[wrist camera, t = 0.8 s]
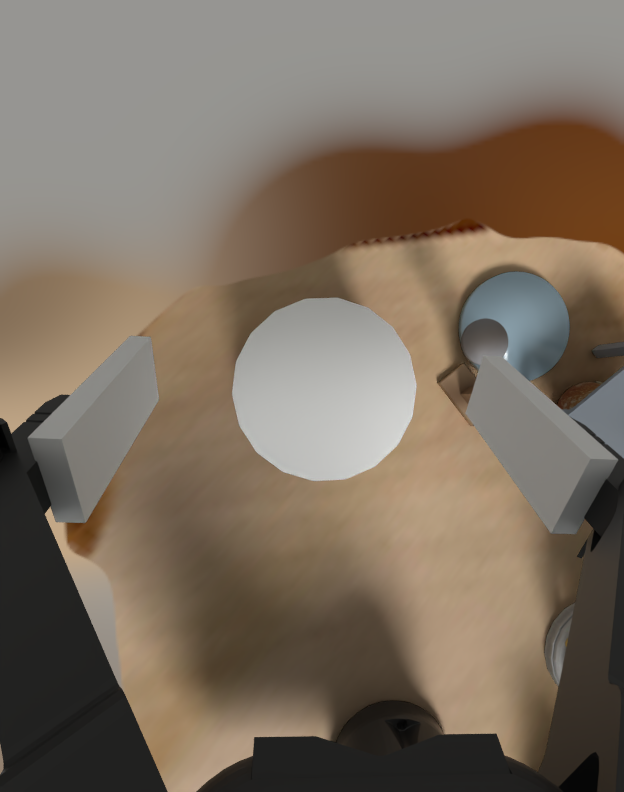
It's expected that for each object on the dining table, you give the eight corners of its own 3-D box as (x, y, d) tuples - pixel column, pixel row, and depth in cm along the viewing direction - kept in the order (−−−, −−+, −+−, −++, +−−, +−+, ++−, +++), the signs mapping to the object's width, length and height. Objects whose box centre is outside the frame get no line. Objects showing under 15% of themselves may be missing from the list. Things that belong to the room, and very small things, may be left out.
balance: (520, 438, 52) (600, 456, 38) (494, 459, 51) (565, 484, 38) (436, 329, 51) (489, 308, 37) (410, 350, 50) (454, 337, 37)
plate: (583, 337, 52) (590, 336, 51) (501, 404, 51) (507, 404, 50) (520, 252, 51) (526, 249, 50) (436, 319, 51) (440, 317, 49)
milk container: (265, 473, 50) (252, 522, 32) (226, 340, 49) (191, 314, 31) (395, 434, 51) (454, 461, 33) (359, 303, 50) (399, 257, 32)
